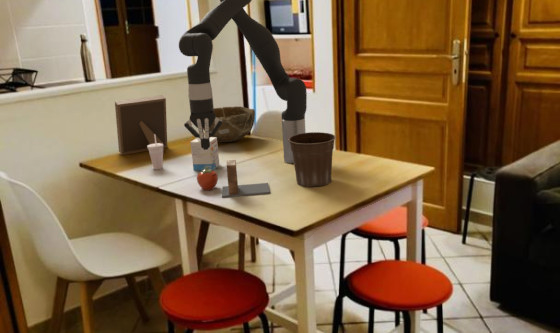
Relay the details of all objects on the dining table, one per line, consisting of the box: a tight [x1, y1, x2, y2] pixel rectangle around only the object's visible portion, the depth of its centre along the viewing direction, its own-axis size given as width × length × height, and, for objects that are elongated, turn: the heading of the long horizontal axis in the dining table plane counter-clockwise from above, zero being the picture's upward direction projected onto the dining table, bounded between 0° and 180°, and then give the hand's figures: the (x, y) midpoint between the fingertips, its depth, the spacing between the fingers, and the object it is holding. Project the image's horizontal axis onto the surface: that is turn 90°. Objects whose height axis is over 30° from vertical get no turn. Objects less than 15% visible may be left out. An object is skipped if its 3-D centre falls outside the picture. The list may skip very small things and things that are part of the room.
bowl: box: [203, 106, 256, 143], centre depth 249 cm, size 28×27×15 cm
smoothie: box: [147, 134, 164, 170], centre depth 210 cm, size 6×6×14 cm
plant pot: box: [288, 131, 337, 188], centre depth 180 cm, size 16×16×16 cm
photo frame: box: [114, 94, 168, 156], centre depth 236 cm, size 15×22×25 cm
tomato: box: [196, 167, 219, 191], centre depth 182 cm, size 7×7×8 cm
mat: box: [221, 182, 271, 199], centre depth 178 cm, size 16×10×1 cm, turn 95°
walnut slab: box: [226, 159, 239, 195], centre depth 175 cm, size 3×7×10 cm, turn 5°
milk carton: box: [189, 133, 220, 171], centre depth 207 cm, size 9×8×13 cm
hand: (205, 149), depth 172 cm, fingers closed
